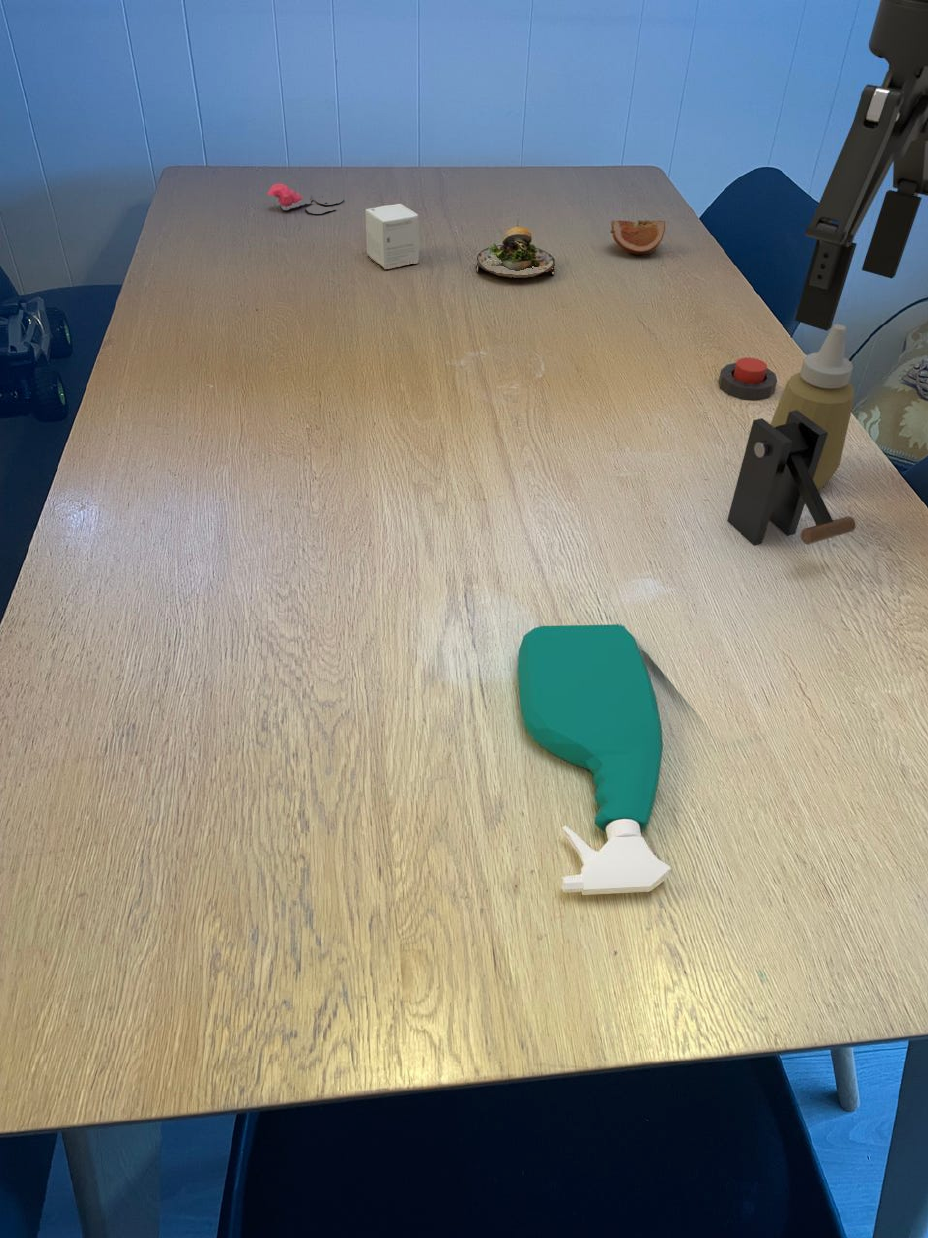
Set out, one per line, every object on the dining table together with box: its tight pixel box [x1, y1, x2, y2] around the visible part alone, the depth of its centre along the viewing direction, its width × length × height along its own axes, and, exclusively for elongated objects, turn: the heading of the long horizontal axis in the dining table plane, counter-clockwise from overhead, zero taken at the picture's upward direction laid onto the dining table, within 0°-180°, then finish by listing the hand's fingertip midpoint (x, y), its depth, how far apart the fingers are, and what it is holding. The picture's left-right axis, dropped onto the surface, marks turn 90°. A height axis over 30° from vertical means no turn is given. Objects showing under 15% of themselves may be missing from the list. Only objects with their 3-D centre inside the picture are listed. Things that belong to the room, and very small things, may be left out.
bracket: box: [726, 410, 828, 547], centre depth 89 cm, size 9×7×13 cm
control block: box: [718, 362, 778, 402], centre depth 112 cm, size 10×7×3 cm
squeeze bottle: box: [769, 323, 856, 491], centre depth 94 cm, size 8×8×18 cm
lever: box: [775, 422, 857, 545], centre depth 85 cm, size 11×5×2 cm, turn 24°
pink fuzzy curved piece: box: [266, 182, 303, 207], centre depth 159 cm, size 12×11×4 cm
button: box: [733, 357, 768, 384], centre depth 112 cm, size 4×4×2 cm
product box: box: [365, 203, 420, 266], centre depth 141 cm, size 6×6×7 cm
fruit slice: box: [610, 219, 666, 256], centre depth 146 cm, size 8×7×5 cm
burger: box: [476, 213, 556, 279], centre depth 139 cm, size 12×12×8 cm
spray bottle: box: [517, 624, 672, 896], centre depth 71 cm, size 3×11×24 cm
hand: (846, 297), depth 77 cm, fingers open, 13 cm apart
